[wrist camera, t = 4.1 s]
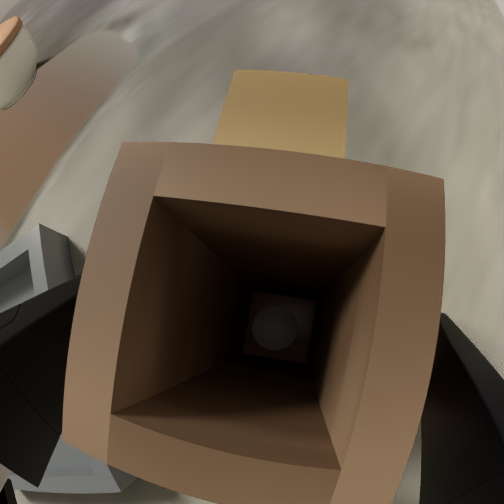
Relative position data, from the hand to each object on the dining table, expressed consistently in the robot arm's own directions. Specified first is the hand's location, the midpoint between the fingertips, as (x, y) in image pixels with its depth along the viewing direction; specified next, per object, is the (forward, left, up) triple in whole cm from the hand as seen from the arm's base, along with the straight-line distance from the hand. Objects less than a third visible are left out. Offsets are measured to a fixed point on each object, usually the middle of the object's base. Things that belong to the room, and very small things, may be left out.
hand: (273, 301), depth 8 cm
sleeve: (-1, 0, -7) cm, 7 cm away
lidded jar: (+29, +23, -8) cm, 38 cm away
